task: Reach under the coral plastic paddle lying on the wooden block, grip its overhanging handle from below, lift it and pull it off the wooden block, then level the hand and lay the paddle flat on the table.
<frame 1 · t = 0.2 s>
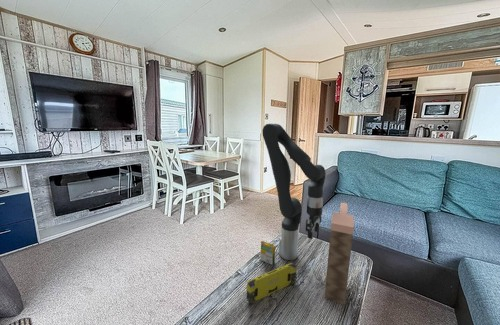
hand: (313, 234, 108), 17 cm above the table, tool pointing down, fingers open, 8 cm apart
crayon box: (267, 261, 114), on the table
paddle: (342, 219, 93), point 32 cm above the table, touching wooden block
gaming console: (272, 292, 93), on the table
wooden block: (335, 291, 94), on the table
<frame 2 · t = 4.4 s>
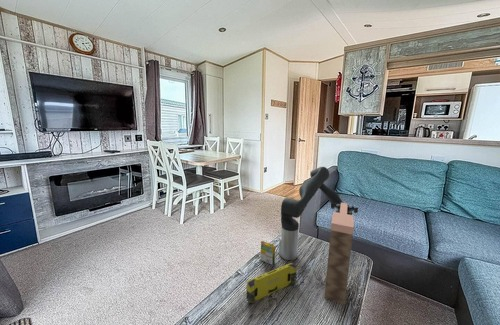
hand: (344, 206, 116), 29 cm above the table, tool pointing upward, fingers open, 8 cm apart
nothing on the table moved.
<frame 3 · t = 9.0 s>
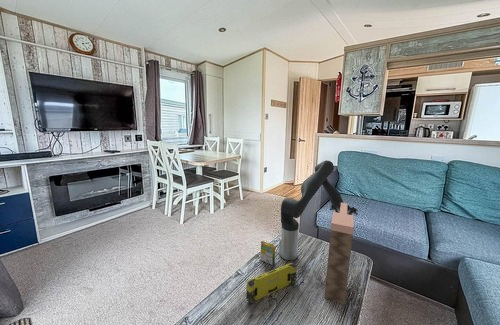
hand: (343, 206, 100), 35 cm above the table, tool pointing upward, fingers closed on paddle, 3 cm apart
paddle: (342, 219, 93), point 32 cm above the table, touching gripper, wooden block
everything else where it was.
when the fingers open (14 cm above the table, at t = 18.8 s): paddle drops 7 cm, on the table.
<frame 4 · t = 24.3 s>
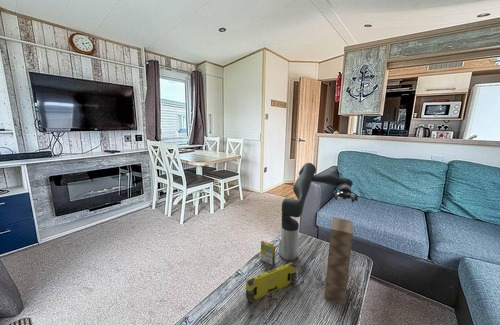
hand: (344, 199, 124), 30 cm above the table, tool horizontal, fingers open, 8 cm apart
paddle: (337, 261, 114), on the table
everything else where it was.
at the end: paddle inside the target area (0.8 cm from its centre), on the table; paddle tilted 0°; the gripper is holding nothing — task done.
